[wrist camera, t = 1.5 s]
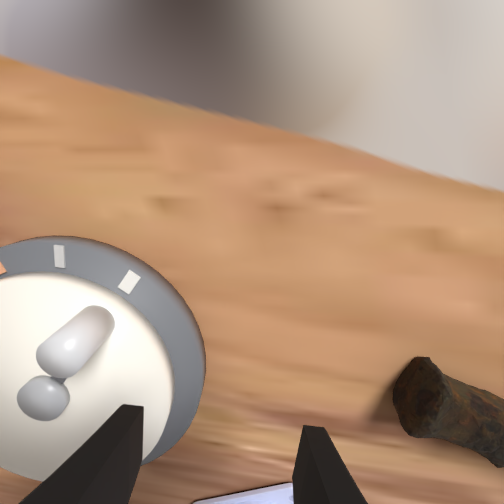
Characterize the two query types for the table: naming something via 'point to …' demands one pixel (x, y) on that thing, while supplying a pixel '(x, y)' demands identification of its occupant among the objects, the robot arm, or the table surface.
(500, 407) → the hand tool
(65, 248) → the dial base
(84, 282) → the dial
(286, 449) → the table surface
